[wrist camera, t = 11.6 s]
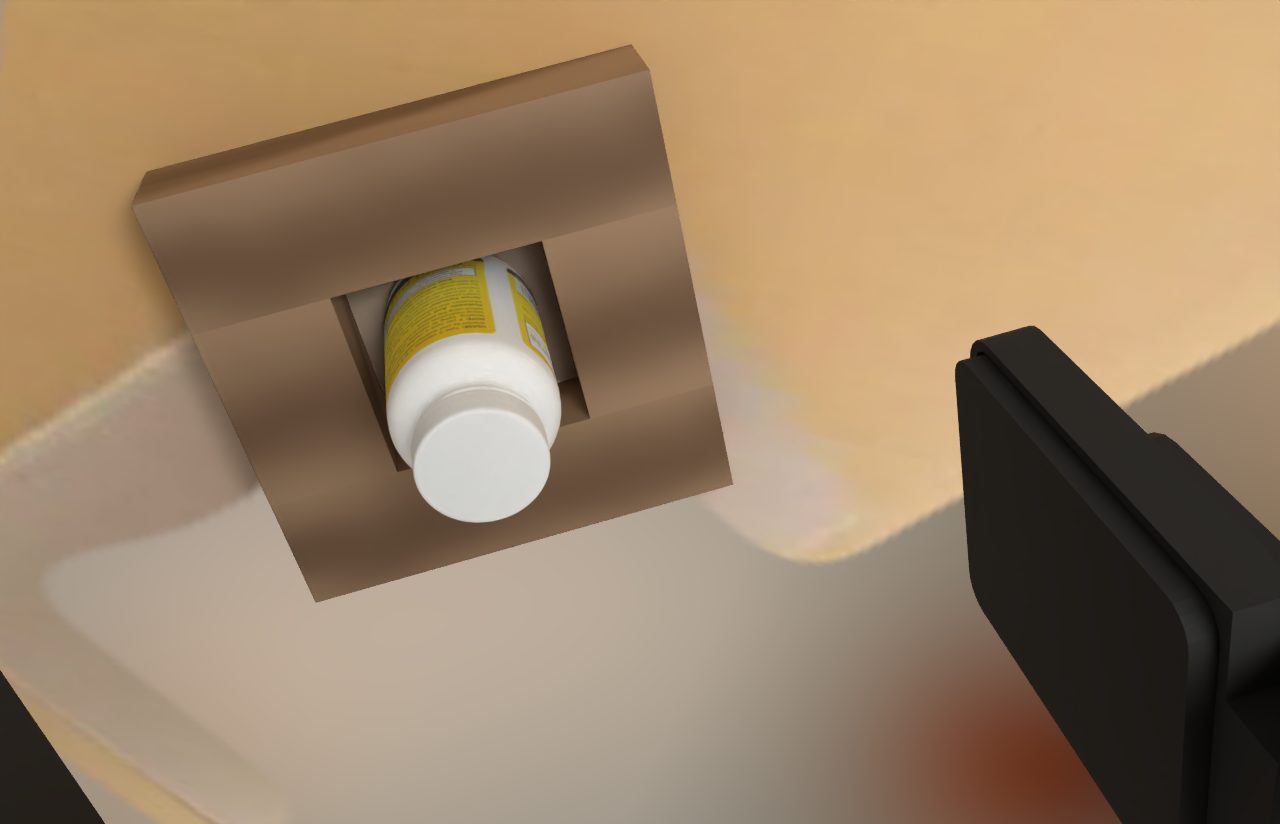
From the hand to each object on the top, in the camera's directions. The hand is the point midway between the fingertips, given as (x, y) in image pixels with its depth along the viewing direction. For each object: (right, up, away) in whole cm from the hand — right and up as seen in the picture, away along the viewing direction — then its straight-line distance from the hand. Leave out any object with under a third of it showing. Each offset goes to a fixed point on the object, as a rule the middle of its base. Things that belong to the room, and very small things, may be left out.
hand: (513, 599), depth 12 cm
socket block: (-5, +5, +32) cm, 33 cm away
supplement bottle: (-5, +5, +32) cm, 33 cm away
